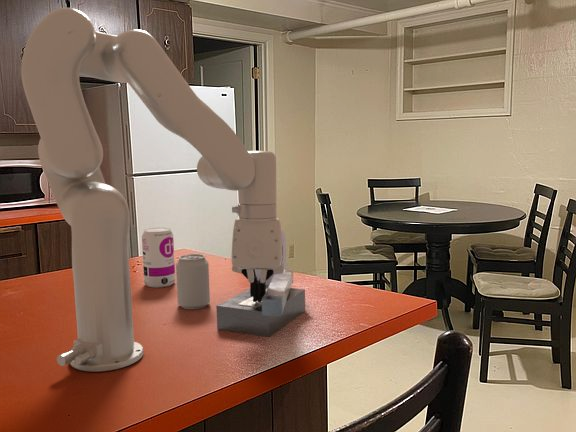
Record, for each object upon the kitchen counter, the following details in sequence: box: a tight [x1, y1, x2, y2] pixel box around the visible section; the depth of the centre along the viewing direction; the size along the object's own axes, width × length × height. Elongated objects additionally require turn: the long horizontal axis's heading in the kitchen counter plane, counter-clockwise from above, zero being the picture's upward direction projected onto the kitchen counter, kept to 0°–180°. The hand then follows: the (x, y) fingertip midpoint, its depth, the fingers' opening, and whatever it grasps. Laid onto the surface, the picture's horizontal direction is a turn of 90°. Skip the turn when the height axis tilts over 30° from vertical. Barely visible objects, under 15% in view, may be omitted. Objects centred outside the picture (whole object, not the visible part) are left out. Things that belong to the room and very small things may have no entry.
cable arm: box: [262, 267, 294, 316], centre depth 120 cm, size 26×4×3 cm, turn 175°
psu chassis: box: [215, 285, 306, 338], centre depth 123 cm, size 22×12×5 cm, turn 155°
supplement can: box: [141, 227, 176, 289], centre depth 152 cm, size 8×8×15 cm
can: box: [175, 253, 211, 310], centre depth 132 cm, size 8×8×12 cm
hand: (258, 300), depth 116 cm, fingers closed
